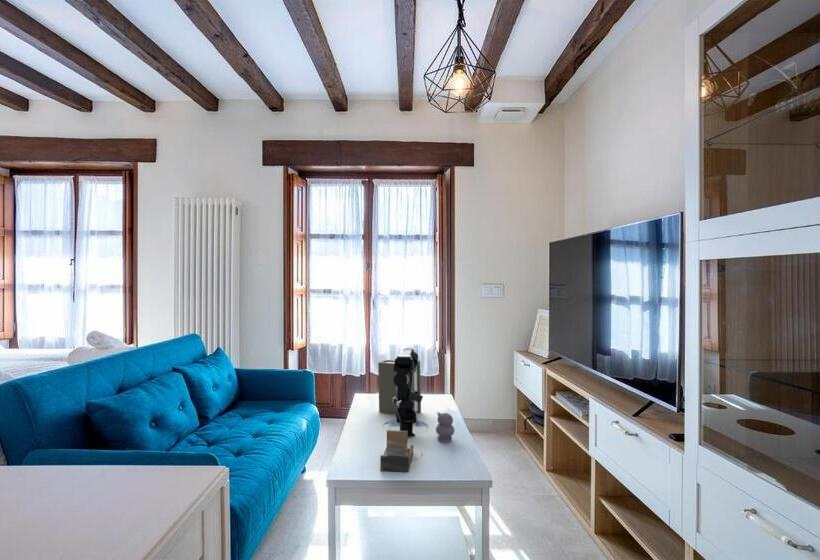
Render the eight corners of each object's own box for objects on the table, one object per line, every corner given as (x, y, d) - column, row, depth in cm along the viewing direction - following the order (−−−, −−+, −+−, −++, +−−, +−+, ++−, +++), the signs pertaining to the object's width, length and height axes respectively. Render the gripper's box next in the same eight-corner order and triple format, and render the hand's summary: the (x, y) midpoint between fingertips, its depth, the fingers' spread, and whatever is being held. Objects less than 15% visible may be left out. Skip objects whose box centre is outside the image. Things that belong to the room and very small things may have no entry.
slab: (387, 455, 161) (387, 430, 161) (407, 456, 160) (407, 430, 160) (384, 462, 155) (384, 435, 155) (405, 463, 154) (405, 436, 154)
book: (377, 413, 224) (377, 361, 224) (386, 408, 232) (385, 358, 233) (413, 417, 215) (412, 363, 215) (420, 412, 223) (420, 360, 224)
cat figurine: (458, 440, 185) (458, 413, 185) (447, 445, 179) (447, 417, 179) (442, 435, 190) (443, 409, 190) (432, 440, 184) (432, 413, 184)
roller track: (387, 452, 171) (387, 439, 171) (413, 453, 170) (413, 440, 170) (380, 471, 154) (380, 456, 154) (408, 472, 153) (408, 457, 153)
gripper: (426, 387, 171) (425, 426, 168) (416, 383, 189) (416, 419, 186) (399, 387, 169) (398, 427, 166) (393, 383, 187) (391, 419, 184)
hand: (402, 422), depth 176 cm, fingers closed
